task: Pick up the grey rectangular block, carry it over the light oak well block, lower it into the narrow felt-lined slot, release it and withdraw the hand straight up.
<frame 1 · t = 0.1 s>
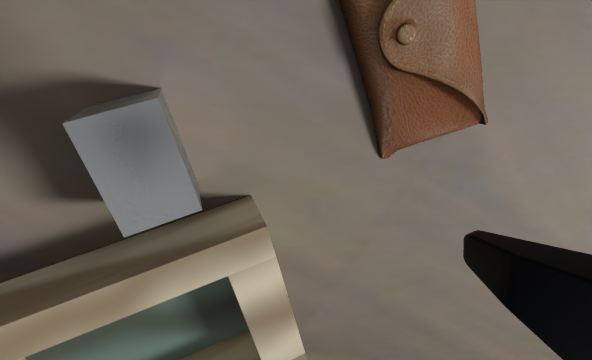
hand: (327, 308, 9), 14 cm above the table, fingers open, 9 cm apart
grey rectangular block: (146, 146, 19), on the table
sunglasses case: (392, 27, 22), on the table
well: (143, 322, 23), on the table
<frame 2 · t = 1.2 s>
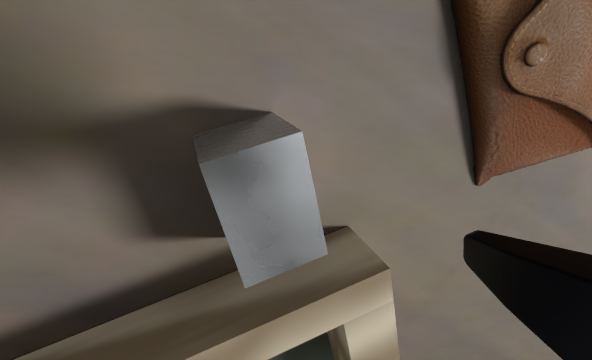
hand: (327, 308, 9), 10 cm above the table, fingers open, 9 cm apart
grey rectangular block: (249, 176, 17), on the table
sunglasses case: (500, 43, 20), on the table
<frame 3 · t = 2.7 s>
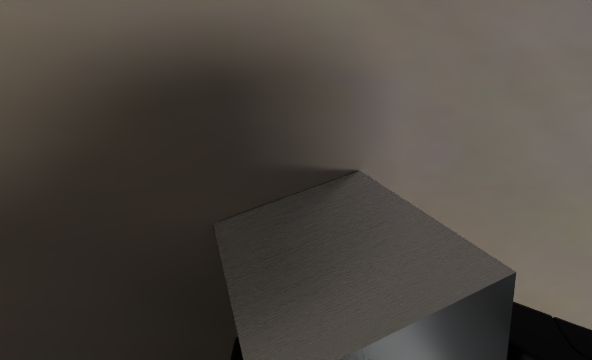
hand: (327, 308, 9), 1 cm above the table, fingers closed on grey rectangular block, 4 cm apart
grey rectangular block: (312, 283, 9), on the table, touching gripper
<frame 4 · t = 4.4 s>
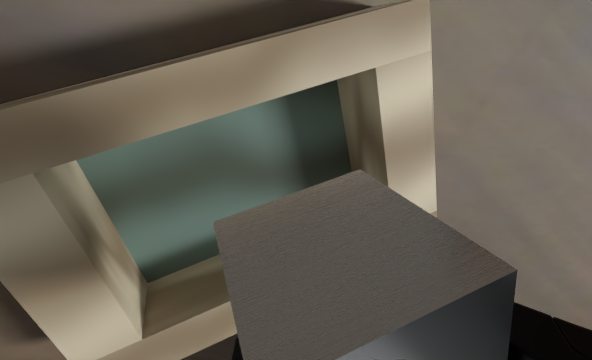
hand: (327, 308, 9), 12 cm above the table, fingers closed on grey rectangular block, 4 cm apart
grey rectangular block: (312, 282, 9), point 11 cm above the table, touching gripper
well: (237, 174, 19), on the table
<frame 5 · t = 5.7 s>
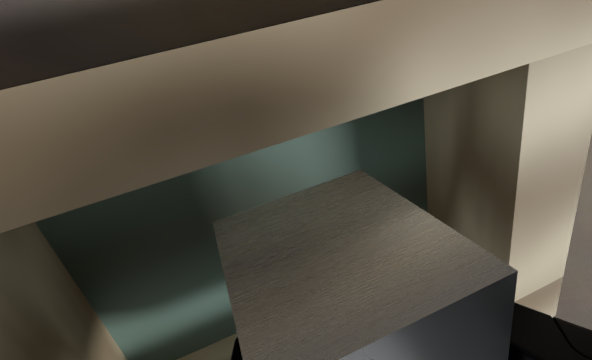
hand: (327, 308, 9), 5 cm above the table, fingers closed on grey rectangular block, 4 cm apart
grey rectangular block: (312, 283, 9), point 4 cm above the table, touching gripper
well: (273, 219, 13), on the table
when the fingers open (2 cm above the table, at t = 6.5 s): grey rectangular block drops 1 cm, resting on well.
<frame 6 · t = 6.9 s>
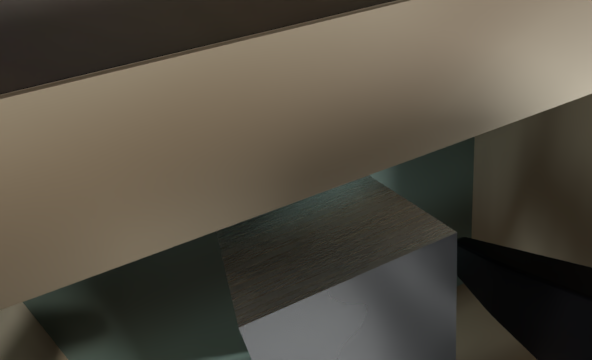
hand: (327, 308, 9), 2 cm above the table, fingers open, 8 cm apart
grey rectangular block: (299, 260, 11), resting on well
well: (295, 255, 11), on the table
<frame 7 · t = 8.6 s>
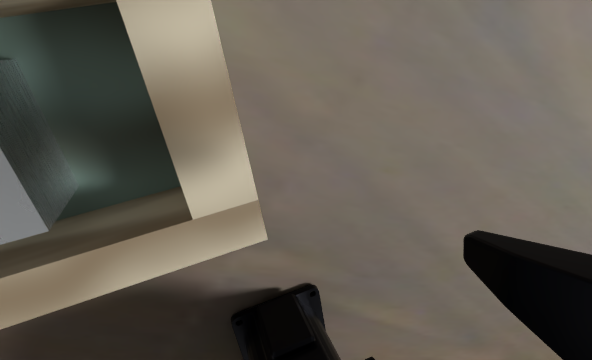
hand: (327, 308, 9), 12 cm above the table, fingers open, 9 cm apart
well: (1, 136, 15), on the table
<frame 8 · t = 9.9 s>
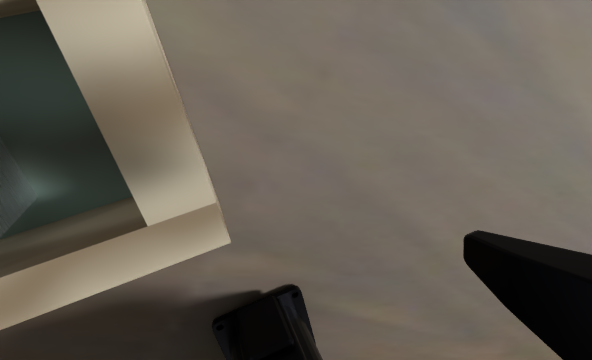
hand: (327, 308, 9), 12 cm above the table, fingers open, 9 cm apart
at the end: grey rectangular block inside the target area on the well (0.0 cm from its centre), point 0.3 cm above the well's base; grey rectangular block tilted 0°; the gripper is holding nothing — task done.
